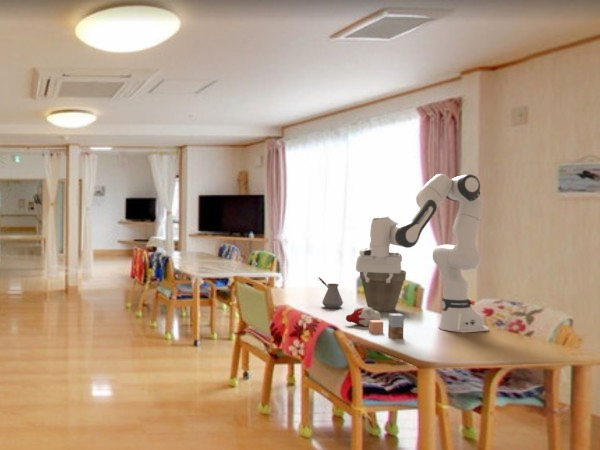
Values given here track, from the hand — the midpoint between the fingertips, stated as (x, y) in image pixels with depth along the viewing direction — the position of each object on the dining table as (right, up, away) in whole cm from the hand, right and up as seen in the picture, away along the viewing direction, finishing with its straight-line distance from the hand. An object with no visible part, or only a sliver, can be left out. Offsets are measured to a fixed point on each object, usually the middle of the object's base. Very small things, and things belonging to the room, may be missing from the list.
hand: (377, 282), depth 280 cm
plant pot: (+10, -20, +59) cm, 64 cm away
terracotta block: (-1, -22, 0) cm, 22 cm away
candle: (-6, -22, +14) cm, 27 cm away
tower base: (+6, -23, -11) cm, 26 cm away
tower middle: (+7, -18, -11) cm, 22 cm away
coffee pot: (-19, -20, +68) cm, 73 cm away
